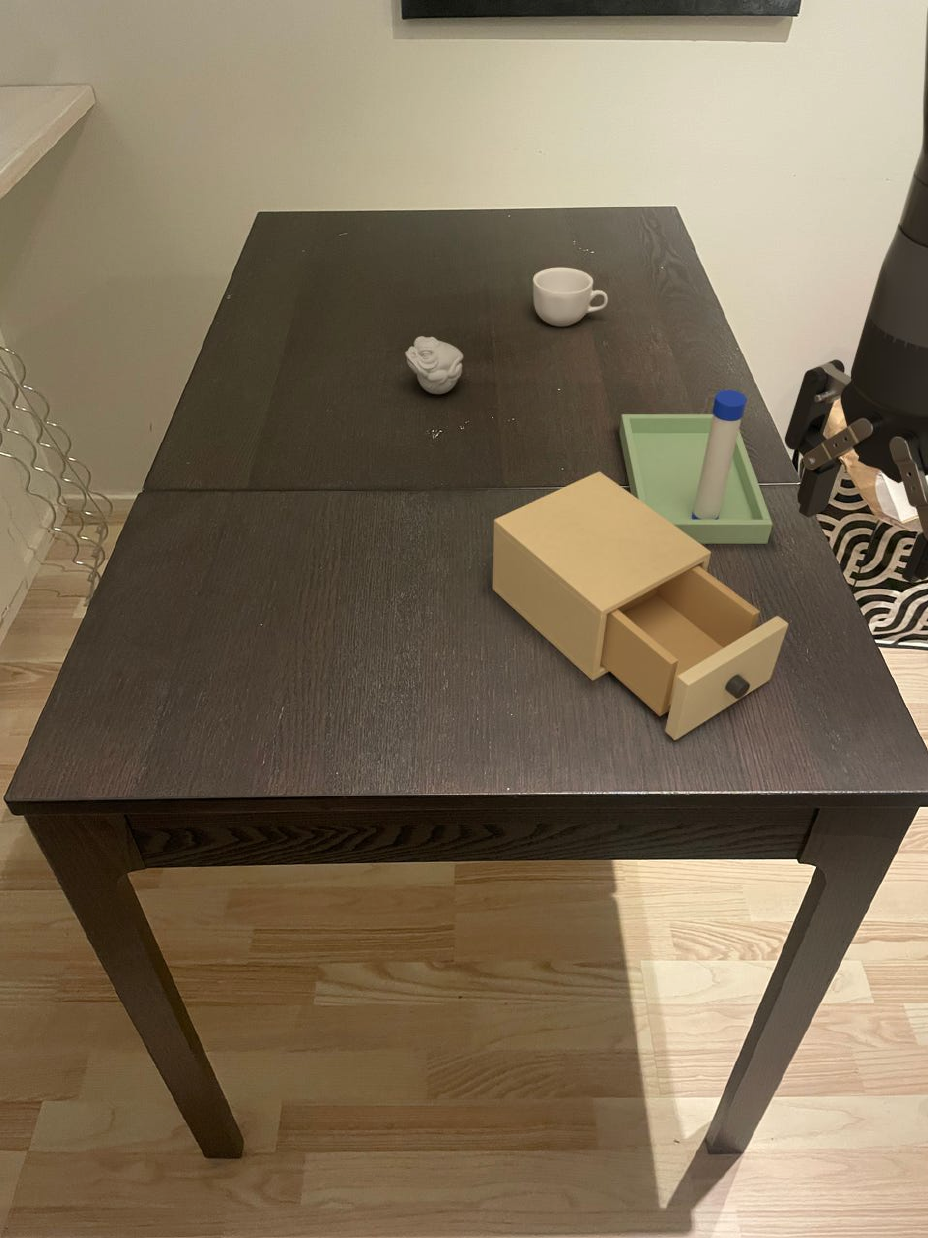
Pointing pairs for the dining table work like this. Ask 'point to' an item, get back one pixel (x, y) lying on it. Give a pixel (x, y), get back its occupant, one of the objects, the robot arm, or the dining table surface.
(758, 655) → the drawer
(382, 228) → the dining table surface
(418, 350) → the frog figurine
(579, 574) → the cabinet
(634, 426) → the tray
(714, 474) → the marker
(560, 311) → the teacup
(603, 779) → the dining table surface
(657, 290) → the dining table surface
